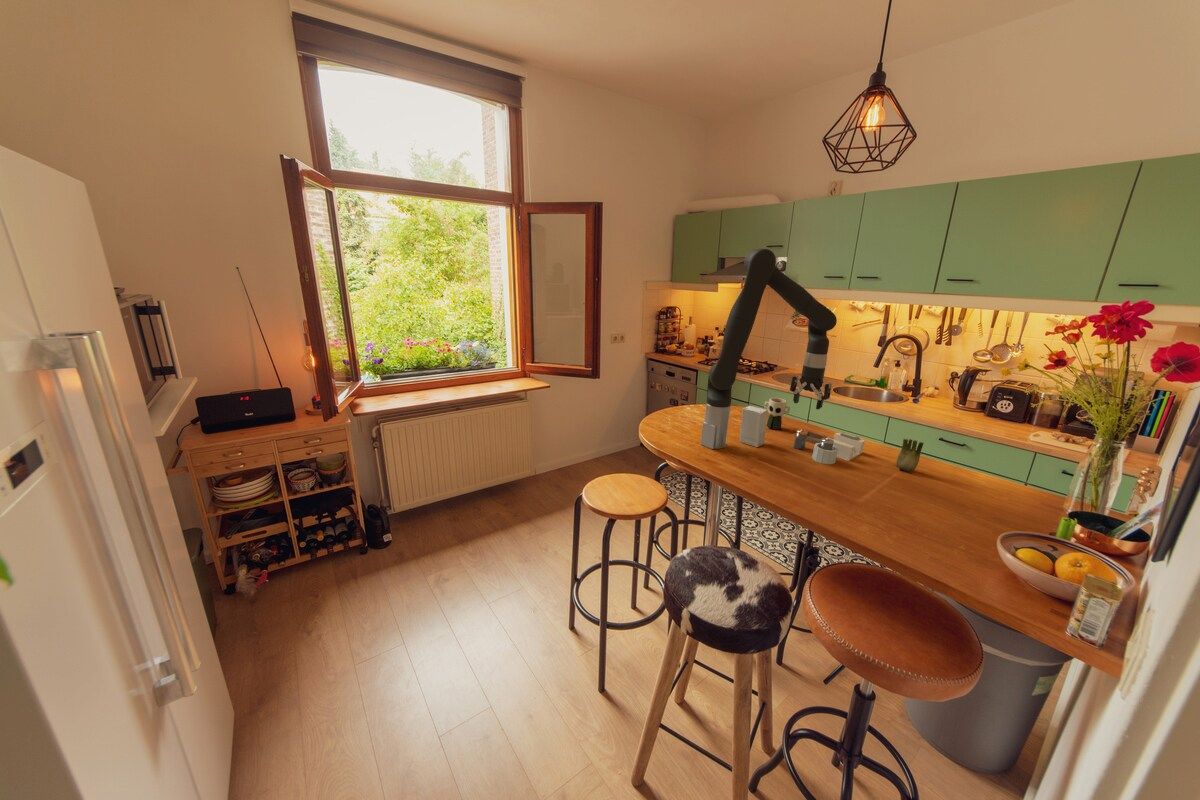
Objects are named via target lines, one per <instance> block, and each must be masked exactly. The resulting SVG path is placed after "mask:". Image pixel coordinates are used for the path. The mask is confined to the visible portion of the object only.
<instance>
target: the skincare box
mask: <svg viewBox="0 0 1200 800" xmlns="http://www.w3.org/2000/svg"><path fill="white" fill-rule="evenodd" d="M767 421H768V409H765V408H762V407H757V406H753V405H748V406H746V407H743V408H742V414H741V423H740V432H739V433H740V434H739V443H743V444H745V445H749V446H751V447H755V448H759V447H761V446H763V445H764V444H765V439H766V431H767V430H766V429H767V426H766V425H767Z"/></svg>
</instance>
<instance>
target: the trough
mask: <svg viewBox="0 0 1200 800" xmlns="http://www.w3.org/2000/svg"><path fill="white" fill-rule="evenodd" d="M805 430H806V431H808V434H807V439H806V443H807V442H808V443H810V444H814V445H815V444H816V443H821V440H822V438H831V439H833V438H832V437H829V436H825V435H823V434H819V433H817V432H814V431H810V430H807V429H805Z"/></svg>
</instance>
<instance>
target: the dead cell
mask: <svg viewBox="0 0 1200 800" xmlns="http://www.w3.org/2000/svg"><path fill="white" fill-rule="evenodd" d="M829 438H830V437H829ZM829 438H822V440H821V444H820V448H821V449H824V450H829V451H830V450H832V447H833V443H834V441H833V440H832V439H833V438H832V439H829Z"/></svg>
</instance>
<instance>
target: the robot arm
mask: <svg viewBox="0 0 1200 800" xmlns="http://www.w3.org/2000/svg"><path fill="white" fill-rule="evenodd" d="M776 258H777V257H776V255H775V253H774V252H773V251H772V250H770V249H768V248H757V249H753V250H751V251H749V252H748V253H747V255H746V256H745V257H744V260H743V261H744V262H743V265H744V270H746V276H745V280H744V283H743V286H742V289H741V291H740V292H739V295H738V296H737V298H736V300H735V302H734V303H733V305H732V307H731V308H730V311H729V314H728V317H727V321H726V323H725V327H724V333H723V338H722V346H721V351H720V354H719V357H718V360H717V362H716V363H714V364H713V365H712V366H711V367H710V369H709V371H708V375H707V376H708V378H707V386H706V387H707V389H706V403H705V404H706V405H705V410H704V422H703V423H702V428H701V438H700V445H701V446H704V447H706V448H709V449H711V450H716V449H717V450H718V449H724V448H725V447H726V445H727V437H728V430H729V429H728V428H729V421H730V413H731V404H732V387H733V385H734V384H735V382H736V378H737V373H738V368H739V365H740V360H741V357H742V354H743V352H744V350H745V347H746V345H747V343H748V340H749V337H750V335H751V332H752V330H753V327H754V324H755V321H756V318H757V314H758V312H759V308H760V305H761V302H762V298H763V295H764V292H765V290H766V287H767V286H768V287H769V288H771V289H772V290H773V291H774V292H775V293H776V294H777V295H778V296H780V297H781V298H782V299H783V300H784V301H785V302H786V303H787V304H788V305H789V306H790V307H791V308H792V309H793V310H795V311H796V312H797V313H798V314H800V315H802V316H803V317H805V318H806V319H807V320H808V323H807V332H808V333H807V336H808V341H807V344H806V345H807V346H806V352H805V355H804V359H803V364H802V369H801V377H799V376H798V375H795V376H792V378H791V382H790V386H789V391H790V392H792V393H793V399H792V401H793V403H794V404H798V403H799V402H800V396H801V392H802V391H805V392H806V391H807V392H810V393H813V394H815V395H816V398H817V401H816V406H815V409H816V410H820V409H822V408H823V403H824V401H826V400H829V399H830V398H831V393H832V383H830V382H824V378H825V377H824V376H825V372H826V366H827V362H828V361H827V360H828V353H829V346H830V339H829V338H828V336H827V333H828V331H829V332H830V331H831V330H833V329H834V328H835V327H836V325H837V322H838V320H837V316H836V315H835V313H834V312H833V311H832V310H831V309H829V308H828V307H826V306H825V305H824V304H822V303H821V302H819V301H818V300H817V299H816V298H815V296H813V295H812V294H811V293H810V292H809V291H807V290H806V289H805V288H804V287H803V286H801V285H800V284H798V282H796V281H794V279H792V278H790V277H789V276H787V275H786V274H785V273H784V272H782V271H781V269H779V267H778V266H776V265H777V264H776V262H777V259H776ZM798 383H800V384H801V385H799V386H798ZM797 386H798V387H797ZM822 387H823V390H824V392H823V390H822Z"/></svg>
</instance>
